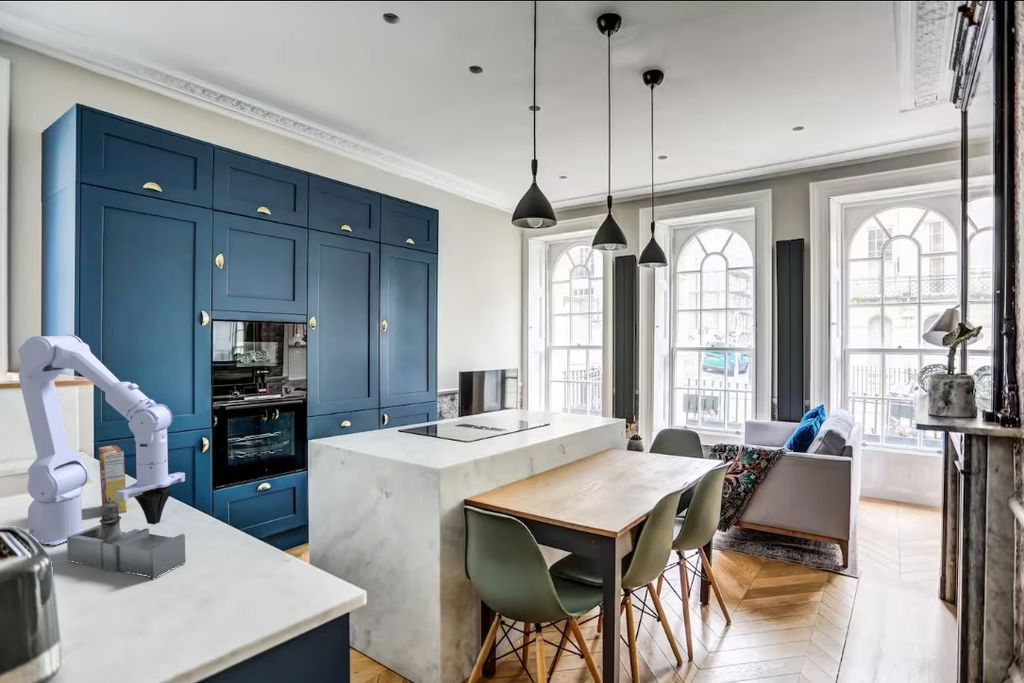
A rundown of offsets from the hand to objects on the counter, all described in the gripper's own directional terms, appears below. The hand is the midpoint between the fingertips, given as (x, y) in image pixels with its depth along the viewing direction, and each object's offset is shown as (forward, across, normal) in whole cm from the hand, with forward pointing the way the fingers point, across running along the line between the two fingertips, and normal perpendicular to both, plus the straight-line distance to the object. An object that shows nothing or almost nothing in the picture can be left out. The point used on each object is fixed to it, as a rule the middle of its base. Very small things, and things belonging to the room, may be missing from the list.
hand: (153, 522), depth 120 cm
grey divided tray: (+3, -11, -6) cm, 13 cm away
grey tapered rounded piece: (+3, -10, 0) cm, 10 cm away
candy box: (+3, +10, +25) cm, 27 cm away
